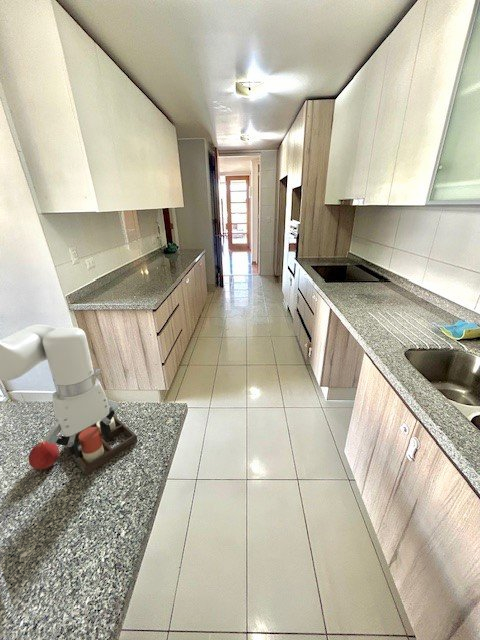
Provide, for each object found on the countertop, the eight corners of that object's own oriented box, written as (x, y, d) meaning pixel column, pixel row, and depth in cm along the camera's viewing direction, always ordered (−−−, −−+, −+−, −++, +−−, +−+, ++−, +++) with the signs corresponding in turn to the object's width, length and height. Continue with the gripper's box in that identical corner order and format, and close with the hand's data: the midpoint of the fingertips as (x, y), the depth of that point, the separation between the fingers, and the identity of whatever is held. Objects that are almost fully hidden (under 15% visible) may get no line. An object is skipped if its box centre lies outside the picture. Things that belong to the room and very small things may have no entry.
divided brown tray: (65, 449, 68) (62, 440, 67) (113, 422, 78) (112, 413, 77) (87, 478, 61) (84, 468, 60) (137, 443, 70) (136, 435, 69)
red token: (78, 447, 63) (75, 434, 62) (97, 436, 66) (94, 424, 65) (86, 457, 60) (83, 443, 59) (105, 445, 64) (102, 432, 62)
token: (96, 433, 73) (93, 422, 71) (111, 424, 76) (109, 413, 74) (103, 441, 70) (101, 429, 69) (119, 431, 73) (117, 420, 72)
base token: (81, 459, 64) (78, 447, 63) (99, 448, 68) (97, 436, 66) (89, 469, 62) (86, 457, 60) (108, 457, 65) (105, 445, 64)
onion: (28, 480, 60) (18, 454, 57) (39, 459, 65) (30, 435, 62) (57, 474, 62) (48, 448, 59) (65, 454, 67) (58, 430, 64)
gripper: (107, 362, 65) (118, 418, 72) (22, 395, 53) (44, 460, 59) (122, 372, 61) (132, 431, 67) (34, 411, 48) (57, 479, 55)
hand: (91, 444), depth 63 cm, fingers open, 6 cm apart
